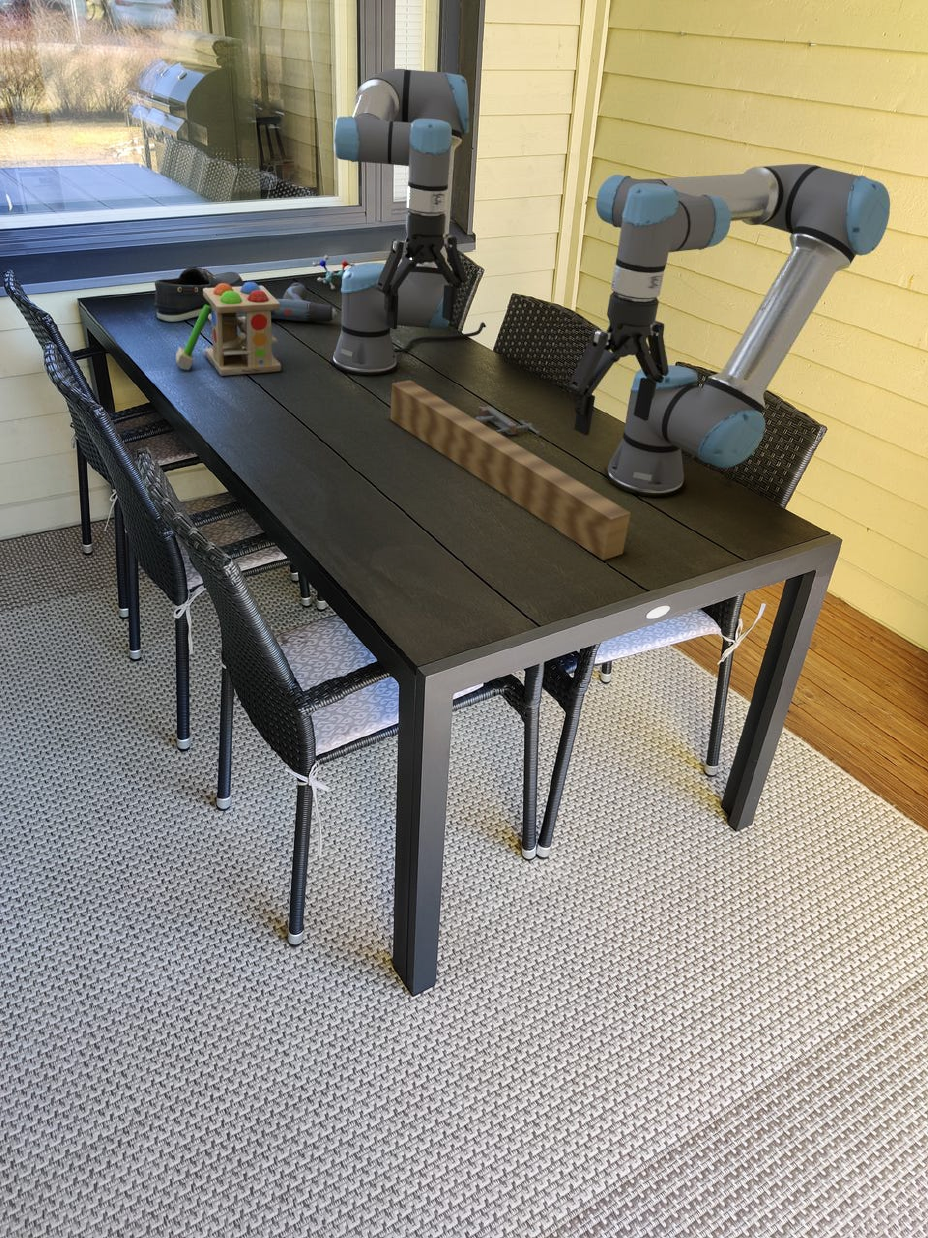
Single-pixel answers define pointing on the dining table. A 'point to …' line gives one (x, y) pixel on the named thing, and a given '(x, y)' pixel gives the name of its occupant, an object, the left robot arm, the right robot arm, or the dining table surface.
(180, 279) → the boat shoe
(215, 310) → the pounding bench toy
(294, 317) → the power drill
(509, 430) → the clamp
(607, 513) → the beam
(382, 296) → the left robot arm
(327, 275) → the molecular model
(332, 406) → the dining table surface
